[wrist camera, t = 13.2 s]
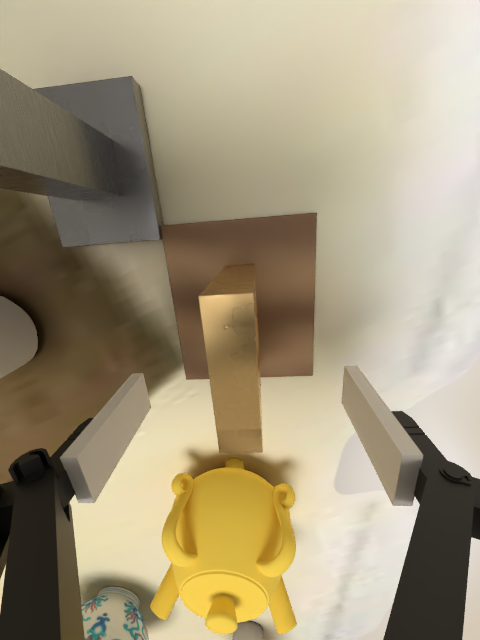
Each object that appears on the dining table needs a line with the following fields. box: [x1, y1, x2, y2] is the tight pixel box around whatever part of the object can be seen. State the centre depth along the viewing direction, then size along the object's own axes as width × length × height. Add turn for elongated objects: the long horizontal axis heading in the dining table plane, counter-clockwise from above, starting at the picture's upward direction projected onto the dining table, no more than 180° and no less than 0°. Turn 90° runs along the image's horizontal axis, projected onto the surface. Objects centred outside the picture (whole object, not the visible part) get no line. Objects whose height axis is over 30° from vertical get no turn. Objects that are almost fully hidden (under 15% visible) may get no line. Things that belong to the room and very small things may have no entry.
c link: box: [198, 264, 263, 453], centre depth 17 cm, size 9×2×10 cm, turn 4°
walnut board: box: [160, 213, 317, 380], centre depth 22 cm, size 14×12×1 cm
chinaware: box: [81, 587, 149, 640], centre depth 36 cm, size 15×15×8 cm
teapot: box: [150, 458, 297, 634], centre depth 25 cm, size 14×14×11 cm
